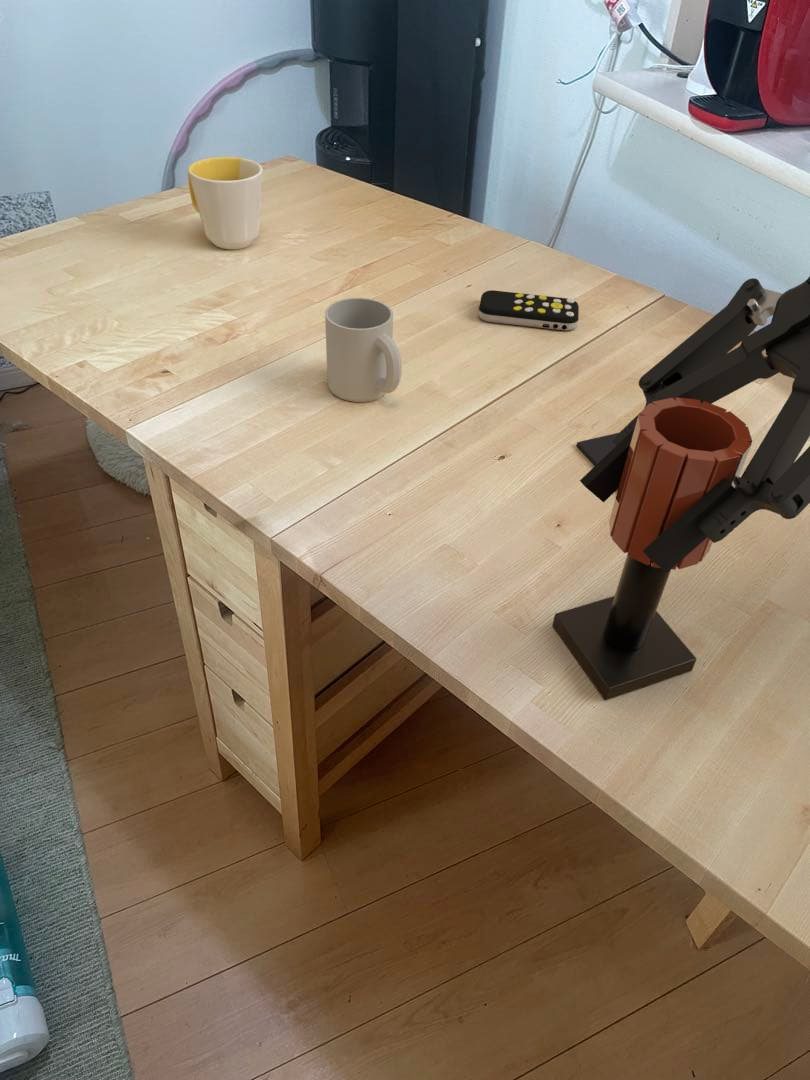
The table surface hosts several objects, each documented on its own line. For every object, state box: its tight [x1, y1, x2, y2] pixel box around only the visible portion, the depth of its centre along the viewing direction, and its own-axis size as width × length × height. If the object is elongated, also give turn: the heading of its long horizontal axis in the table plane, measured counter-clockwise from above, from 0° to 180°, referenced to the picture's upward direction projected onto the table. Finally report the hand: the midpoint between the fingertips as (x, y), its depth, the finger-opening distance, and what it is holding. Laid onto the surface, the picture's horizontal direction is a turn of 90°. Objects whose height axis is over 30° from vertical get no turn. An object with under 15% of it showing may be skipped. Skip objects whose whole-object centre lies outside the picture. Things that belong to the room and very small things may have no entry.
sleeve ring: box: [608, 397, 753, 571], centre depth 53 cm, size 7×7×9 cm
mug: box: [187, 156, 264, 250], centre depth 117 cm, size 14×10×10 cm
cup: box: [324, 297, 403, 403], centre depth 88 cm, size 7×10×9 cm
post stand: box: [552, 555, 698, 701], centre depth 60 cm, size 8×8×13 cm
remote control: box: [477, 289, 580, 332], centre depth 105 cm, size 6×13×2 cm, turn 80°
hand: (622, 524), depth 54 cm, fingers closed on sleeve ring, 7 cm apart
